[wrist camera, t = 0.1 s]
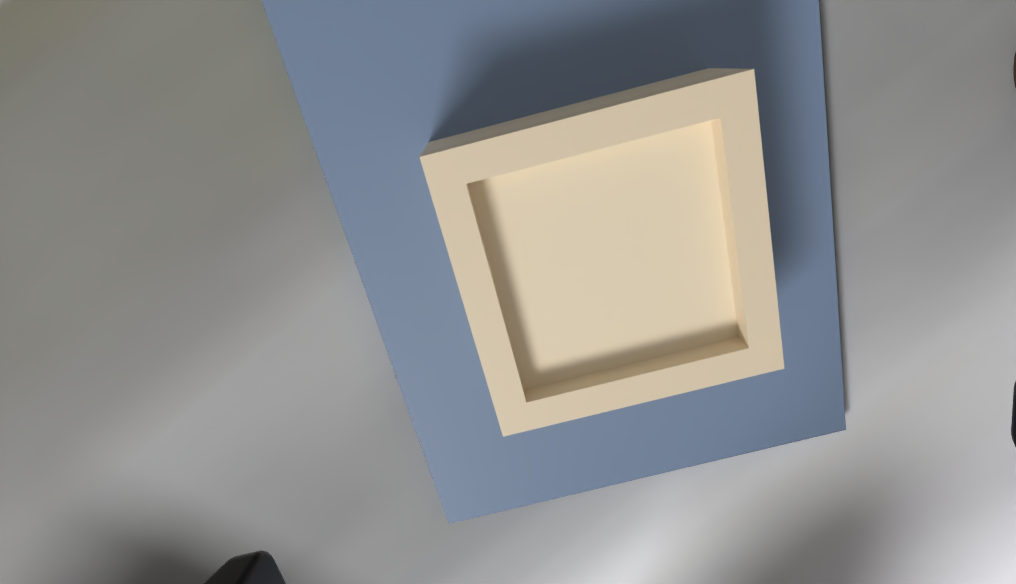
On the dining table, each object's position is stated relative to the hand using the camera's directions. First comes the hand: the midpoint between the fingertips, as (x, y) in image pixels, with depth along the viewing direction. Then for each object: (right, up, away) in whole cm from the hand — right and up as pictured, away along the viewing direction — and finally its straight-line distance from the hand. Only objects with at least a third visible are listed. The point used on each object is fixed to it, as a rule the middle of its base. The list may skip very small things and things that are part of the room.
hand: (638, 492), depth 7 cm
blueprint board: (+1, +4, +14) cm, 15 cm away
